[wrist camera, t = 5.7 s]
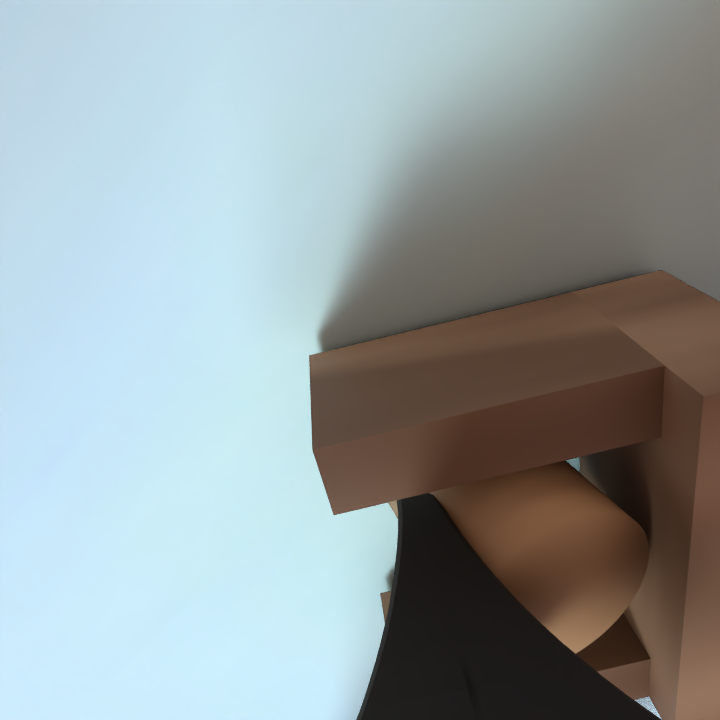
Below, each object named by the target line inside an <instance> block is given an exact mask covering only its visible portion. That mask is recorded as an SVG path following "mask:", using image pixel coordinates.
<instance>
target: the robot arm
mask: <svg viewBox="0 0 720 720" xmlns="http://www.w3.org/2000/svg"><path fill="white" fill-rule="evenodd" d="M397 508H398V543H397V554H396V563H395V572H394V580H393V586H392V591H391V597H390V602H389V608H388V613H387V618H386V623H385V627H384V631H383V635H382V640H381V643H380V647H379V651H378V655H377V659H376V662H375V665H374V669H373V672H372V675H371V678H370V682H369V685H368V688H367V691H366V694H365V697H364V700H363V703H362V706H361V709H360V712H359V715H358V717H357V720H661V719H660V718H658V717H657V716H656V715H654V714H653V713H651V712H650V711H649V710H647V709H646V708H644V707H643V706H642V705H640V704H639V703H637V702H636V701H635V700H633V699H632V698H631V697H629V696H628V695H627V694H625V693H624V692H623V691H621V690H620V689H619V688H617V687H616V686H615V685H613V684H612V683H611V682H609V681H608V680H607V679H606V678H604V677H603V676H602V675H601V674H599V673H598V672H597V671H596V670H595V669H593V668H592V667H591V666H590V665H589V664H587V663H586V662H585V661H584V660H582V659H581V658H580V657H579V656H578V655H576V654H575V653H574V652H573V651H572V650H570V649H569V648H568V647H567V646H566V645H564V644H563V643H562V642H561V641H560V640H559V639H558V638H557V637H556V636H554V635H553V634H552V633H551V632H550V631H549V630H548V629H547V628H546V627H545V626H544V625H542V624H541V623H540V622H539V621H538V620H537V619H536V618H535V617H534V616H533V615H532V614H531V613H530V612H529V611H528V610H527V609H526V608H525V607H524V606H523V605H522V604H521V603H520V602H519V601H518V600H517V599H516V598H515V597H514V596H513V595H512V594H511V593H510V591H509V590H508V589H507V588H506V587H505V586H504V585H503V584H502V583H501V582H500V580H499V579H498V578H497V577H496V576H495V575H494V574H493V573H492V571H491V570H490V569H489V568H488V567H487V565H486V564H485V563H484V562H483V561H482V559H481V558H480V557H479V556H478V554H477V553H476V552H475V551H474V549H473V548H472V547H471V546H470V544H469V543H468V542H467V540H466V539H465V538H464V536H463V535H462V534H461V532H460V531H459V529H458V528H457V526H456V525H455V524H454V522H453V521H452V519H451V518H450V516H449V514H448V513H447V511H446V510H445V509H444V507H443V506H442V505H441V504H440V502H439V501H438V500H437V499H436V498H435V496H434V495H432V494H430V493H425V494H421V495H417V496H413V497H408V498H404V499H400V500H397Z"/></svg>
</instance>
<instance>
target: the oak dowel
mask: <svg viewBox="0 0 720 720" xmlns="http://www.w3.org/2000/svg"><path fill="white" fill-rule="evenodd" d="M429 493H430V494H432V495H434V496H435V498H436V499H437V500H438V501H439V502H440V504H441V505H442V506H443V507H444V509H445V510H446V511H447V513H448V514H449V516H450V518H451V519H452V521H453V522H454V524H455V525H456V526H457V528H458V529H459V531H460V532H461V534H462V535H463V536H464V538H465V539H466V540H467V542H468V543H469V544H470V546H471V547H472V548H473V549H474V551H475V552H476V553H477V554H478V556H479V557H480V558H481V559H482V561H483V562H484V563H485V564H486V565H487V567H488V568H489V569H490V570H491V571H492V573H493V574H494V575H495V576H496V577H497V578H498V579H499V580H500V582H501V583H502V584H503V585H504V586H505V587H506V588H507V589H508V590H509V591H510V593H511V594H512V595H513V596H514V597H515V598H516V599H517V600H518V601H519V602H520V603H521V604H522V605H523V606H524V607H525V608H526V609H527V610H528V611H529V612H530V613H531V614H532V615H533V616H534V617H535V618H536V619H537V620H538V621H539V622H540V623H541V624H542V625H544V626H545V627H546V628H547V629H548V630H549V631H550V632H551V633H552V634H553V635H554V636H556V637H557V638H558V639H559V640H560V641H561V642H562V643H563V644H564V645H566V646H567V647H568V648H569V649H570V650H572V651H573V652H574V653H575V654H576V653H577V652H579V651H581V650H582V649H584V648H585V647H587V646H588V645H590V644H591V643H592V642H593V641H595V640H596V639H597V638H599V637H600V636H601V635H602V634H603V633H604V632H605V631H606V630H608V629H609V628H610V627H611V626H612V625H613V624H614V622H615V621H616V620H617V619H618V618H619V617H620V616H621V615H622V613H623V612H624V611H625V610H626V608H627V607H628V606H629V604H630V603H631V601H632V600H633V598H634V596H635V595H636V593H637V591H638V589H639V587H640V585H641V583H642V581H643V578H644V576H645V573H646V569H647V565H648V559H649V544H648V540H647V537H646V534H645V532H644V530H643V529H642V528H641V526H640V525H639V524H638V523H637V522H636V521H635V520H633V519H632V518H631V517H630V516H629V515H628V514H627V513H625V512H624V511H623V510H622V509H621V508H620V507H618V506H617V505H616V504H615V503H614V502H613V501H612V500H610V499H609V498H608V497H607V496H606V495H605V494H603V493H602V492H601V491H600V490H599V489H598V488H597V487H595V486H594V485H593V484H592V483H591V482H590V481H588V480H587V479H586V478H585V477H584V476H583V475H582V474H580V473H579V472H578V471H577V470H576V469H575V468H573V467H572V466H571V465H570V464H569V463H568V462H567V461H565V460H564V461H560V462H556V463H551V464H547V465H543V466H539V467H535V468H530V469H526V470H522V471H518V472H514V473H509V474H505V475H501V476H497V477H492V478H488V479H484V480H480V481H476V482H471V483H467V484H463V485H459V486H455V487H450V488H446V489H442V490H438V491H434V492H429ZM388 503H389V505H390V506H391V508H392V510H393V512H394V513H395V515H396V517H397V518H398V508H397V500H396V501H391V502H388Z"/></svg>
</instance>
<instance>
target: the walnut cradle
mask: <svg viewBox="0 0 720 720" xmlns="http://www.w3.org/2000/svg"><path fill="white" fill-rule="evenodd" d="M309 362H310V391H311V420H312V448H313V453H314V456H315V459H316V462H317V465H318V468H319V471H320V474H321V477H322V480H323V483H324V487H325V490H326V493H327V496H328V499H329V502H330V505H331V508H332V511H333V514H334V515H337V514H341V513H345V512H349V511H354V510H358V509H362V508H366V507H370V506H375V505H379V504H383V503H387V502H391V501H396V500H400V499H404V498H408V497H413V496H417V495H421V494H425V493H429V492H434V491H438V490H442V489H446V488H450V487H455V486H459V485H463V484H467V483H471V482H476V481H480V480H484V479H488V478H492V477H497V476H501V475H505V474H509V473H514V472H518V471H522V470H526V469H530V468H535V467H539V466H543V465H547V464H551V463H556V462H560V461H564V460H568V459H572V458H577V457H580V474H582V475H583V476H584V477H585V478H586V479H587V480H588V481H590V482H591V483H592V484H593V485H594V486H595V487H597V488H598V489H599V490H600V491H601V492H602V493H603V494H605V495H606V496H607V497H608V498H609V499H610V500H612V501H613V502H614V503H615V504H616V505H617V506H618V507H620V508H621V509H622V510H623V511H624V512H625V513H627V514H628V515H629V516H630V517H631V518H632V519H633V520H635V521H636V522H637V523H638V524H639V525H640V526H641V528H642V529H643V530H644V532H645V534H646V537H647V540H648V544H649V559H648V565H647V569H646V573H645V576H644V578H643V581H642V583H641V585H640V587H639V589H638V591H637V593H636V595H635V596H634V598H633V600H632V601H631V603H630V604H629V606H628V607H627V608H626V610H625V611H624V612H623V613H622V615H621V616H620V617H619V618H618V619H617V620H616V621H615V622H614V624H613V625H612V626H611V627H610V628H609V629H608V630H606V631H605V632H604V633H603V634H602V635H601V636H600V637H599V638H597V639H596V640H595V641H593V642H592V643H591V644H590V645H588V646H587V647H585V648H584V649H582V650H581V651H579V652H577V653H576V655H578V656H579V657H580V658H581V659H582V660H584V661H585V662H586V663H587V664H589V665H590V666H591V667H592V668H593V669H595V670H596V671H597V672H598V673H599V674H601V675H602V676H603V677H604V678H606V679H607V680H608V681H609V682H611V683H612V684H613V685H615V686H616V687H617V688H619V689H620V690H621V691H623V692H624V693H625V694H627V695H628V696H629V697H631V698H632V699H633V700H635V699H639V698H644V697H648V696H649V697H650V699H651V700H652V702H653V704H654V706H655V708H656V709H657V711H658V713H659V715H660V717H661V718H662V720H720V302H719V301H717V300H715V299H714V298H712V297H710V296H708V295H706V294H705V293H703V292H701V291H699V290H697V289H695V288H694V287H692V286H690V285H688V284H686V283H684V282H683V281H681V280H679V279H677V278H675V277H673V276H672V275H670V274H668V273H666V272H664V271H662V270H660V271H656V272H652V273H647V274H643V275H639V276H635V277H631V278H627V279H623V280H619V281H614V282H610V283H606V284H602V285H598V286H594V287H590V288H586V289H581V290H577V291H573V292H569V293H565V294H561V295H557V296H553V297H548V298H544V299H540V300H536V301H532V302H528V303H524V304H520V305H515V306H511V307H507V308H503V309H499V310H495V311H491V312H487V313H482V314H478V315H474V316H470V317H466V318H462V319H458V320H454V321H450V322H445V323H441V324H437V325H433V326H429V327H425V328H421V329H417V330H412V331H408V332H404V333H400V334H396V335H392V336H388V337H384V338H379V339H375V340H371V341H367V342H363V343H359V344H355V345H351V346H346V347H342V348H338V349H334V350H330V351H326V352H322V353H318V354H313V355H309ZM380 594H381V600H382V607H383V613H384V619H385V623H386V618H387V613H388V608H389V602H390V597H391V591H388V592H384V593H380Z"/></svg>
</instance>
